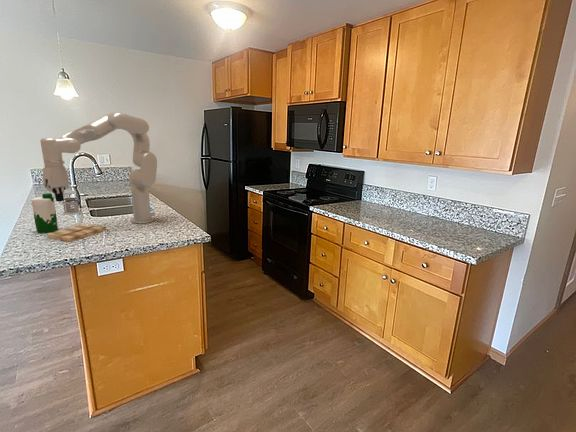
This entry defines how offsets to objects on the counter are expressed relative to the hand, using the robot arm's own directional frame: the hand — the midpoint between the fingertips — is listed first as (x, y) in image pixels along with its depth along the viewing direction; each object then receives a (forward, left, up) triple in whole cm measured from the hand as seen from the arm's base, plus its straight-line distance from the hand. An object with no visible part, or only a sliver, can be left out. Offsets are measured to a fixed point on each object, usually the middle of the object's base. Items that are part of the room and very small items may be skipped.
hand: (60, 201), depth 159 cm
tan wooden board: (-4, +1, -18) cm, 18 cm away
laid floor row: (-4, +8, -18) cm, 20 cm away
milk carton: (-3, -15, -18) cm, 24 cm away
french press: (-38, -39, -18) cm, 57 cm away
